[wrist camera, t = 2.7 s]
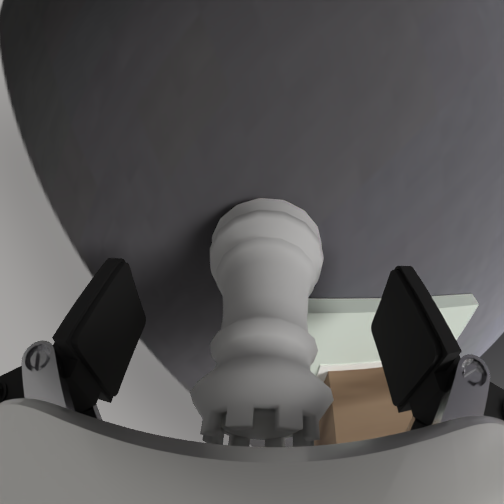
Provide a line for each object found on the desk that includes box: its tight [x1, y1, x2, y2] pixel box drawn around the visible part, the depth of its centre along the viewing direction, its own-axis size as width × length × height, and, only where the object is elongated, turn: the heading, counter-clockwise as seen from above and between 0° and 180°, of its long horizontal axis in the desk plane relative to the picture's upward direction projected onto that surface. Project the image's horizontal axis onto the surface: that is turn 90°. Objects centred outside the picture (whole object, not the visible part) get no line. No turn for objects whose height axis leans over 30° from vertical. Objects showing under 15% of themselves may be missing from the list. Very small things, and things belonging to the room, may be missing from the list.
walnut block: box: [314, 367, 413, 446], centre depth 14 cm, size 6×6×5 cm
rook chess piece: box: [190, 198, 334, 447], centre depth 8 cm, size 4×4×8 cm
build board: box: [307, 294, 479, 382], centre depth 16 cm, size 14×12×1 cm
